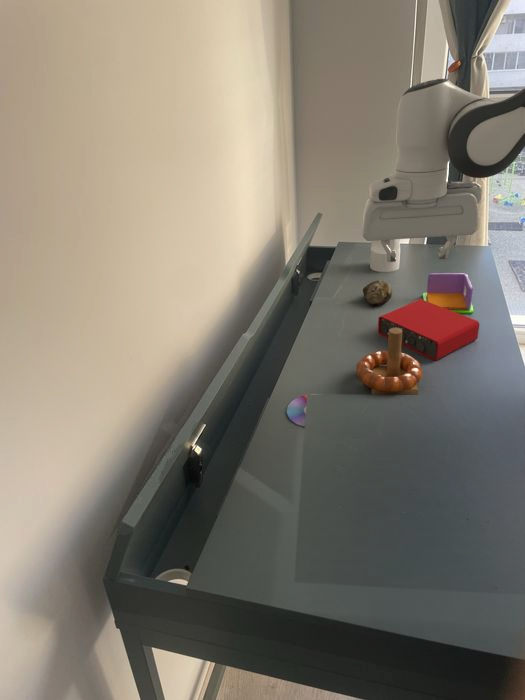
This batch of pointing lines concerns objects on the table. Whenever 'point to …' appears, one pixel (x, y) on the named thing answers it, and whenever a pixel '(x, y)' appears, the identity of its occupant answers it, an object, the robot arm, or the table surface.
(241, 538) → the table surface
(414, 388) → the stand
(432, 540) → the table surface
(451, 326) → the red device housing
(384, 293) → the fossilized seashell
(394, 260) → the robot arm
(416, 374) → the ring
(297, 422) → the cd
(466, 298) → the dollhouse room
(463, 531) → the table surface
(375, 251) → the cylinder with rectangular tab
